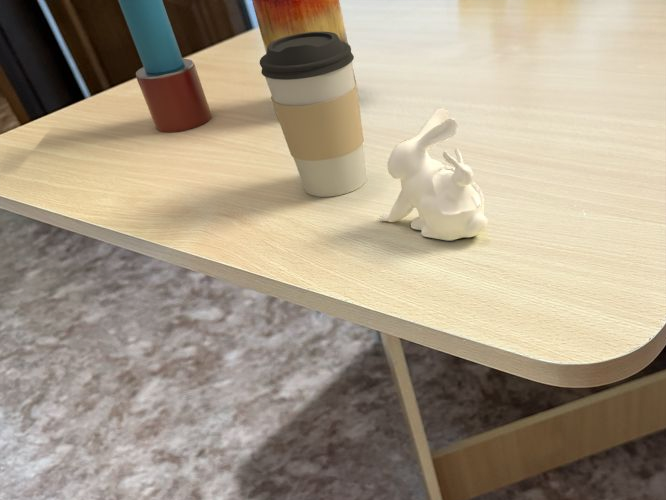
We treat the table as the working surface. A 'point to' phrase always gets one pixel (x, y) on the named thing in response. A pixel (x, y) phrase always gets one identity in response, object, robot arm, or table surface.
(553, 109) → the table surface
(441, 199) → the rabbit figurine
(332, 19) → the vase
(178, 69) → the tin
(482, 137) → the table surface
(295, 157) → the coffee cup
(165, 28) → the teal blue cylinder
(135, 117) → the table surface
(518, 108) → the table surface
